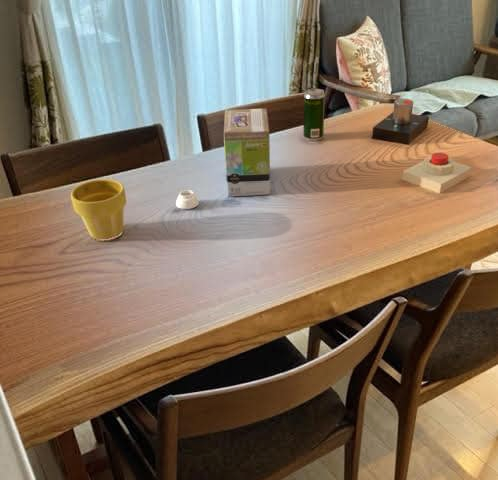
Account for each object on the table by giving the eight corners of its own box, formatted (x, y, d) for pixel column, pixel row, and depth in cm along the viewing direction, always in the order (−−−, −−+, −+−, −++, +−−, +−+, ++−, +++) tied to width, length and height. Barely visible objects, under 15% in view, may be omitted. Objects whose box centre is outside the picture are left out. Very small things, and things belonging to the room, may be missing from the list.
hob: (392, 121, 152) (394, 110, 150) (427, 127, 148) (429, 115, 146) (371, 138, 144) (373, 126, 142) (407, 145, 139) (409, 133, 137)
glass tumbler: (389, 122, 143) (391, 101, 140) (396, 117, 146) (399, 96, 143) (406, 126, 141) (409, 104, 138) (413, 120, 144) (416, 99, 140)
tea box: (271, 195, 121) (270, 129, 112) (227, 197, 121) (221, 132, 112) (268, 167, 133) (266, 106, 123) (228, 169, 133) (223, 108, 123)
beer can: (326, 139, 144) (328, 93, 137) (307, 142, 144) (307, 96, 136) (319, 132, 148) (320, 87, 141) (300, 135, 148) (301, 89, 140)
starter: (432, 164, 129) (435, 147, 127) (470, 176, 123) (474, 159, 121) (401, 180, 124) (404, 163, 121) (439, 193, 118) (442, 176, 115)
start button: (436, 158, 123) (437, 151, 122) (450, 163, 121) (451, 155, 120) (427, 163, 121) (428, 155, 120) (441, 167, 119) (442, 160, 118)
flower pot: (142, 231, 111) (134, 187, 105) (100, 252, 106) (88, 207, 100) (114, 216, 117) (104, 173, 111) (72, 235, 112) (59, 191, 105)
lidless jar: (176, 200, 121) (176, 211, 117) (175, 188, 119) (174, 199, 115) (199, 199, 121) (199, 209, 117) (197, 187, 119) (197, 197, 116)
